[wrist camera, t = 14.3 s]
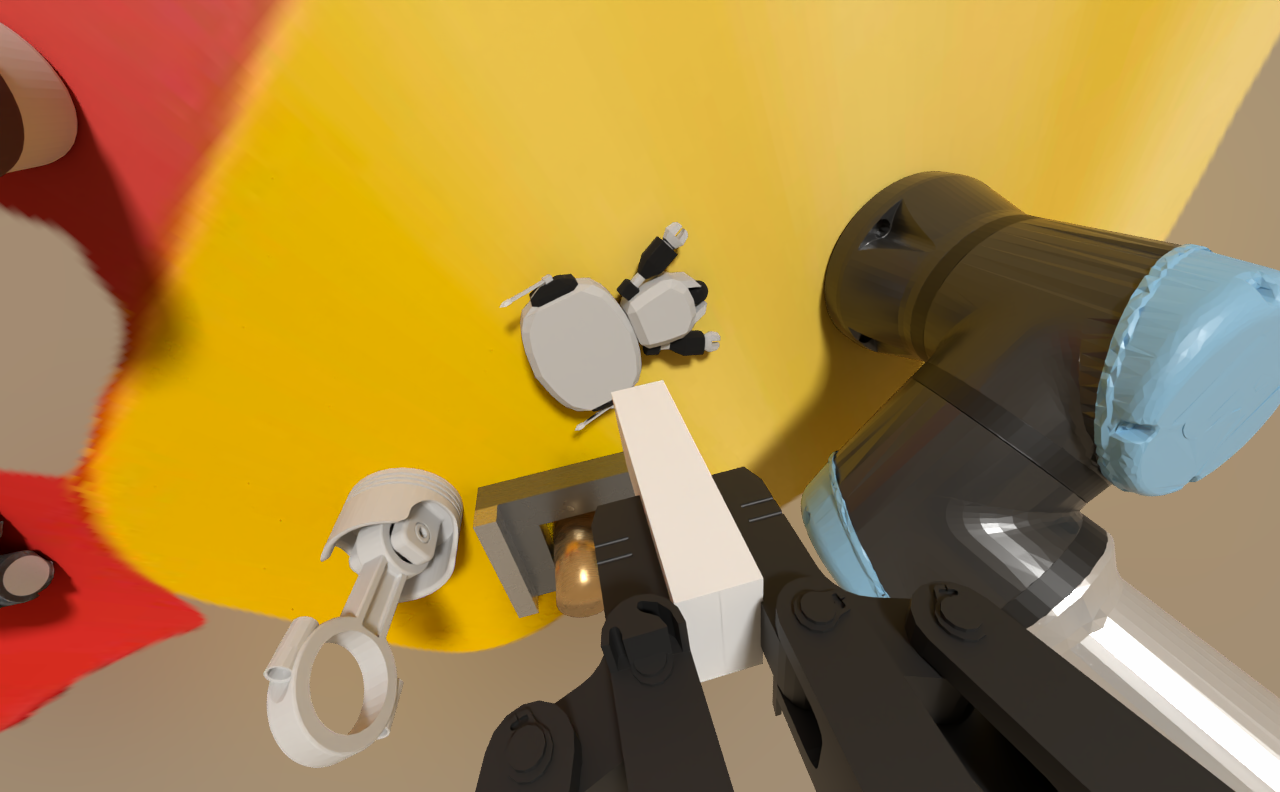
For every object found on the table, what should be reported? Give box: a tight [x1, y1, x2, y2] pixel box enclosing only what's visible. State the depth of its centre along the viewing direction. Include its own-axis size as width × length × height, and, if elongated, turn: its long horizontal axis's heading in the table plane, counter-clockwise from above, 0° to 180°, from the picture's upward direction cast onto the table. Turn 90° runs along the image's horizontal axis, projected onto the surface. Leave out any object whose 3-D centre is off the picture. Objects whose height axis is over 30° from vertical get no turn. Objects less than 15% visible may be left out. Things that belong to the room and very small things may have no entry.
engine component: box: [264, 468, 463, 768], centre depth 35 cm, size 11×20×10 cm
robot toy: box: [500, 222, 720, 430], centre depth 36 cm, size 12×4×15 cm
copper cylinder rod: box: [553, 510, 604, 617], centre depth 44 cm, size 5×5×10 cm
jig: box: [473, 452, 635, 618], centre depth 46 cm, size 16×14×5 cm
